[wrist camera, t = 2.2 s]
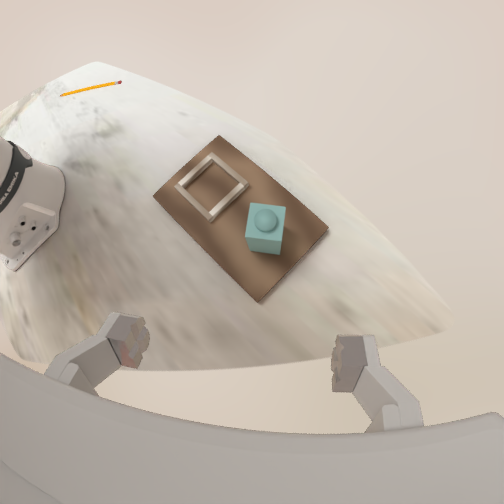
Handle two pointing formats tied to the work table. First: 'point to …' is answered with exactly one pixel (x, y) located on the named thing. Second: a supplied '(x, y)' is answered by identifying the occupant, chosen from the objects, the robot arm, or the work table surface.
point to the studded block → (265, 228)
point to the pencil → (91, 88)
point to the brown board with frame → (237, 214)
